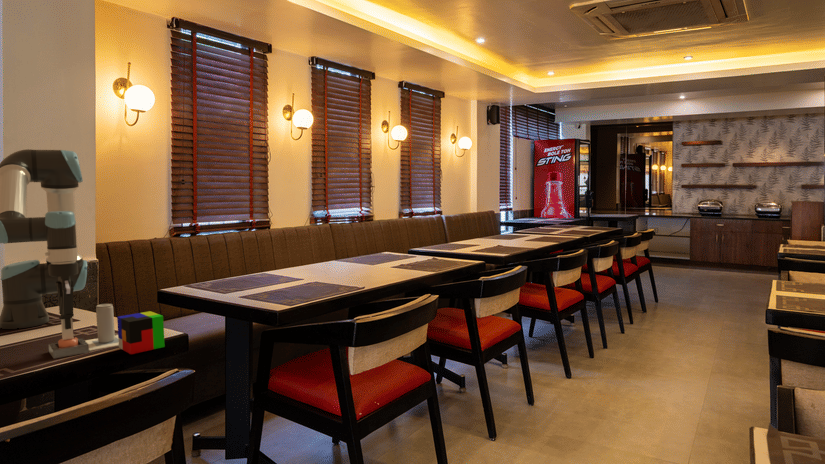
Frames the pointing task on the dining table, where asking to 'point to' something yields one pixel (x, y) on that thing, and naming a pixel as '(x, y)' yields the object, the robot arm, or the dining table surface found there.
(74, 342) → the button
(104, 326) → the beverage can
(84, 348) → the button collar
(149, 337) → the puzzle toy
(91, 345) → the white flat block
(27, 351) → the dining table surface
